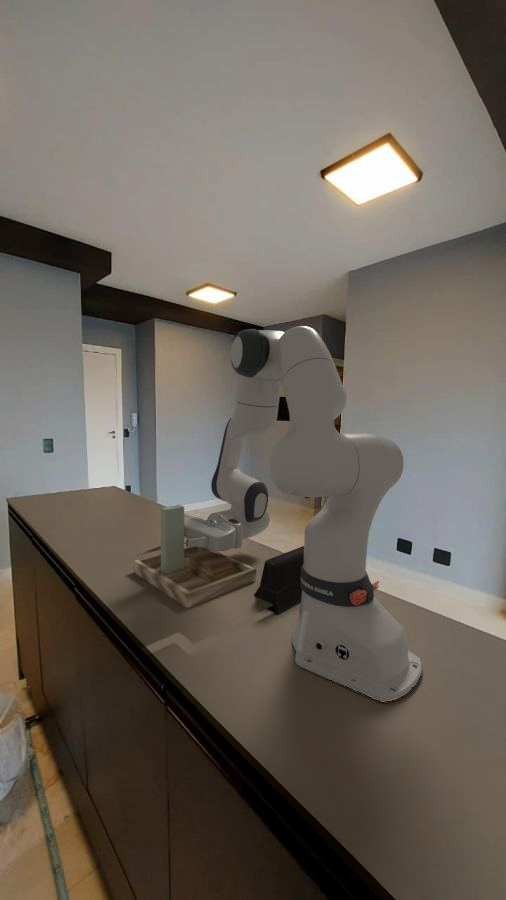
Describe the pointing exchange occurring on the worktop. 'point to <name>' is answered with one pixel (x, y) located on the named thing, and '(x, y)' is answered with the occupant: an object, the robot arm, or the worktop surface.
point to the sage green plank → (172, 539)
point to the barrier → (282, 581)
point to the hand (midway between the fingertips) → (176, 538)
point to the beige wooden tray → (192, 579)
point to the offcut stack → (209, 566)
